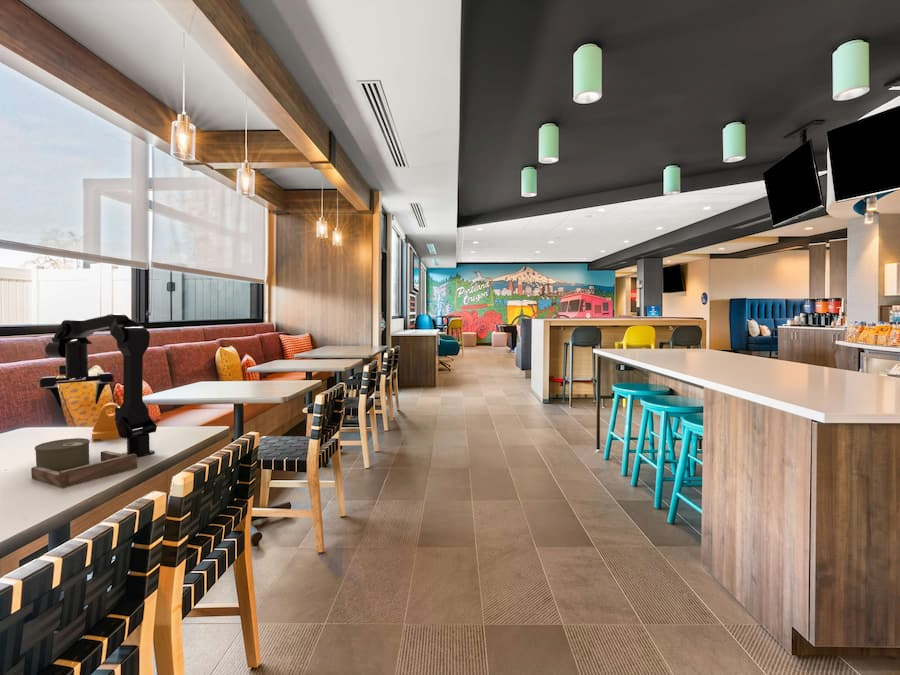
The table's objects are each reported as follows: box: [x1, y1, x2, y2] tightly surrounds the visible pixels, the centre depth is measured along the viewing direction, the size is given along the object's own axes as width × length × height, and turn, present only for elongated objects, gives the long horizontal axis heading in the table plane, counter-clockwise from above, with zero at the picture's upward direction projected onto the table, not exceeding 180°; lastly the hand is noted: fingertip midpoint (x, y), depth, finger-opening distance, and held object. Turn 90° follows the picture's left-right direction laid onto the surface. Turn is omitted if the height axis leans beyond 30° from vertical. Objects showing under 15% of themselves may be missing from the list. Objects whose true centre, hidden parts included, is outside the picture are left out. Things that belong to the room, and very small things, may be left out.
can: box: [34, 437, 91, 472], centre depth 132 cm, size 12×12×7 cm
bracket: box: [91, 402, 122, 441], centre depth 165 cm, size 11×7×12 cm, turn 126°
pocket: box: [30, 450, 138, 489], centre depth 127 cm, size 15×18×4 cm
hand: (78, 405), depth 152 cm, fingers open, 9 cm apart
